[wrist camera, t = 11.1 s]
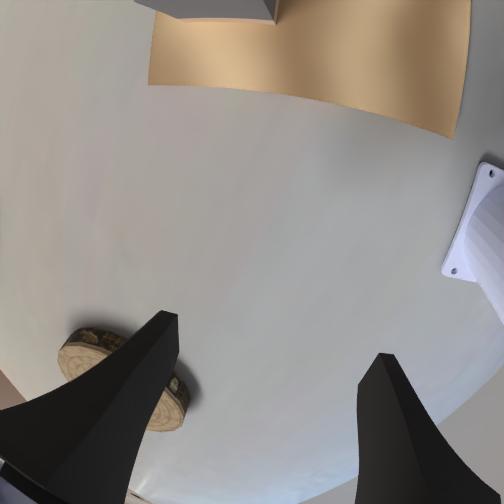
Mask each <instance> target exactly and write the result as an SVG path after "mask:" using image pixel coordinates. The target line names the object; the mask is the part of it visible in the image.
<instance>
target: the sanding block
mask: <svg viewBox="0 0 504 504" xmlns="http://www.w3.org/2000/svg"><path fill="white" fill-rule="evenodd" d="M134 2H136V3H139V4H142V5H144V6H147V7H150V8H152V9H155V10H157V11H160V12H162V13H164V14H167V15H169V16H171V17H174V18H176V19H178V20H180V21H183V22H238V23H255V24H267V25H276V20H277V13H278V6H279V0H134Z"/></svg>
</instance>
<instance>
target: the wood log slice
mask: <svg viewBox="0 0 504 504" xmlns="http://www.w3.org/2000/svg"><path fill="white" fill-rule="evenodd" d="M127 340H128V339H126V338H124V337H122V336H119V335H117V334H115V333H113V332H109V331H105V330H100V329H96V328H84V329H78V330H76V331H75V332H74V333H73V334H71V335H70V337H69V338H68V339H67V341H66V342H65V343H64V345H63V346H62V348H61V349H60V350H59V352H58V363H59V366H60V369H61V371H62V373H63V374H64V376H65V377H66V379H67V380H68V382H69V381H71V380H73V379H75V378H76V377H78V376H80V375H81V374H83V373H84V372H86V371H87V370H89V369H90V368H92V367H93V366H95V365H96V364H98V363H99V362H100V361H102V360H103V359H104V358H105V357H107V356H108V355H109V354H111V353H112V352H113V351H115V350H116V349H117V348H118V347H120V346H121V345H122V344H123V343H124V342H126V341H127ZM189 401H190V396H189V393H188V390H187V387H186V385H185V384H184V383H183V381H182V380H181V379H180V378H179V376H178V375H177V374H176V373H175V371H174V370H173V372H172V374H171V377H170V379H169V381H168V383H167V385H166V387H165V389H164V391H163V394H162V396H161V398H160V400H159V402H158V404H157V406H156V408H155V410H154V412H153V414H152V416H151V418H150V420H149V423H148V425H147V427H146V430H149V431H157V432H167V431H174V430H176V429H177V428H179V427H181V426H182V423H183V420H184V417H185V414H186V412H187V409H188V405H189Z"/></svg>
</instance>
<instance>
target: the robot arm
mask: <svg viewBox="0 0 504 504" xmlns="http://www.w3.org/2000/svg"><path fill="white" fill-rule="evenodd" d="M490 170H492V174H491V175H490V176H489V172H490ZM454 268H455V270H454V271H452V269H454ZM441 272H442V273H443V275H445V276H448V277H453V278H458V279H463V280H467V281H472V282H477V283H479V285H480V286H481V288H482V289H483V291H484V292H485V294H486V296H487V297H488V299H489V300H490V302H491V304H492V305H493V307H494V309H495V310H496V312H497V314H498V315H499V317H500V319H501V321H502V322H503V324H504V170H502V169H500V168H498V167H496V166H494V165H492V164H489V163H487V162H481V163H480V164H479V167H478V170H477V173H476V176H475V180H474V183H473V186H472V189H471V192H470V195H469V198H468V201H467V204H466V207H465V210H464V212H463V215H462V218H461V221H460V223H459V226H458V228H457V231H456V233H455V236H454V238H453V241H452V243H451V246H450V248H449V250H448V253H447V255H446V257H445V259H444V262H443V264H442V266H441ZM178 354H179V336H178V314H174V313H170V312H167V311H163V310H161V311H159V312H158V313H157V314H156V315H155V316H154V317H153V318H152V319H150V320H149V321H148V322H147V323H146V324H145V325H144V326H143V327H142V328H141V329H139V330H138V331H137V332H136V333H135V334H134V335H133V336H131V337H130V338H129V339H128V340H127V341H126V342H124V343H123V344H122V345H121V346H120V347H118V348H117V349H116V350H115V351H113V352H112V353H111V354H109V355H108V356H107V357H105V358H104V359H103V360H102V361H100V362H99V363H98V364H96V365H95V366H93V367H92V368H90V369H89V370H87V371H86V372H84V373H83V374H81V375H80V376H78V377H76V378H75V379H73V380H71V381H69V382H68V383H66V384H64V385H62V386H60V387H59V388H57V389H55V390H53V391H51V392H49V393H46V394H44V395H42V396H39V397H37V398H35V399H32V400H30V401H28V402H25V403H22V404H19V405H16V406H13V407H10V408H7V409H3V410H0V458H1V459H3V460H4V461H5V462H4V463H3V462H2V461H0V504H124V502H125V497H126V493H127V489H128V485H129V481H130V477H131V473H132V470H133V466H134V463H135V460H136V457H137V453H138V450H139V447H140V444H141V441H142V438H143V435H144V432H145V430H146V427H147V425H148V423H149V420H150V418H151V416H152V414H153V412H154V410H155V408H156V406H157V404H158V402H159V400H160V398H161V396H162V394H163V391H164V389H165V387H166V385H167V383H168V381H169V379H170V377H171V374H172V372H173V369H174V366H175V363H176V360H177V357H178ZM357 425H358V442H359V475H358V485H357V492H356V499H355V504H501V498H500V494H498V493H497V492H496V491H494V490H493V489H492V488H491V487H489V486H488V485H487V484H485V483H484V482H483V481H482V480H481V479H480V478H479V477H478V476H477V475H476V474H475V473H474V472H473V471H472V470H471V469H470V468H469V467H468V466H467V465H466V464H465V463H464V462H463V461H462V460H461V458H460V457H459V456H458V455H457V454H456V453H455V452H454V450H453V449H452V448H451V446H450V445H449V444H448V442H447V441H446V440H445V438H444V437H443V436H442V434H441V433H440V432H439V430H438V429H437V427H436V426H435V424H434V422H433V421H432V419H431V418H430V416H429V415H428V413H427V411H426V410H425V408H424V406H423V405H422V403H421V401H420V400H419V398H418V396H417V394H416V393H415V391H414V389H413V387H412V386H411V384H410V382H409V380H408V378H407V377H406V375H405V373H404V371H403V370H402V368H401V366H400V364H399V363H398V361H397V359H396V357H395V356H394V354H386V353H379V354H378V355H377V357H376V358H375V360H374V362H373V363H372V365H371V366H370V368H369V369H368V371H367V372H366V374H365V375H364V377H363V378H362V380H361V381H360V383H359V384H358V393H357Z"/></svg>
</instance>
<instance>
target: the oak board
mask: <svg viewBox="0 0 504 504" xmlns="http://www.w3.org/2000/svg"><path fill="white" fill-rule="evenodd" d="M470 8H471V0H279V6H278V13H277V20H276V25H267V24H255V23H238V22H183V21H180V20H178V19H176V18H174V17H171V16H169V15H167V14H164V13H162V12H160V11H157V10H156V15H155V22H154V29H153V37H152V46H151V55H150V66H149V77H148V85H186V86H209V87H224V88H236V89H246V90H255V91H263V92H271V93H278V94H285V95H291V96H297V97H303V98H308V99H314V100H319V101H324V102H329V103H333V104H338V105H342V106H347V107H351V108H355V109H359V110H363V111H367V112H371V113H374V114H378V115H382V116H385V117H388V118H392V119H395V120H398V121H402V122H405V123H408V124H411V125H414V126H417V127H420V128H423V129H426V130H429V131H431V132H434V133H437V134H440V135H442V136H445V137H447V138H450V139H453V137H454V132H455V128H456V123H457V119H458V114H459V109H460V103H461V98H462V92H463V86H464V79H465V72H466V64H467V55H468V45H469V32H470Z"/></svg>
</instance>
